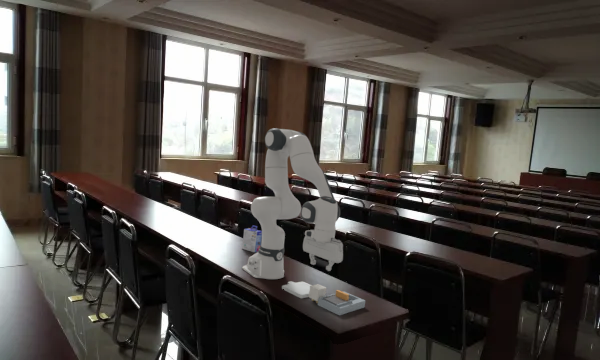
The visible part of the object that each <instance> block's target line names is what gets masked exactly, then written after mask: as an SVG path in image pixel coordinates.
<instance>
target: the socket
mask: <svg viewBox="0 0 600 360" xmlns="http://www.w3.org/2000/svg"><path fill="white" fill-rule="evenodd" d="M342 292H344V293H347V294H349V299H348V300H349V301H347V302H343V303H340V304H337V305H334V304H332V303H330V302H328V301H326V300H324V298H327V297H330V296H334V295H336V293H332V294H329V295H326V296H325V297H321V298H318V303H317V306H318V307H321V308H323V309H325V310H327V311H329V312H332V313H333V314H335V315H338V316H343V315H345V314H347V313H351V312H355V311H357V310H360V309H364V308H365V307H366V305H365V304H366V300H365V299H363V298H360V297H358V296H356V295H354V294H351V293H349V292H347V291H344V290H343V291H342Z"/></svg>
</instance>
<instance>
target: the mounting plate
mask: <svg viewBox="0 0 600 360" xmlns="http://www.w3.org/2000/svg"><path fill="white" fill-rule="evenodd" d="M310 286H312V284H309V283H307V282H305V281H298V282H294V281H292V280H291V281H288V282H287V284H283V285H281V290H283V289H284V290H283V291H285V292H287V293H289V294H291V295H293V296H295V297H297V298H300V299H304V298H310V297H309V291H310Z"/></svg>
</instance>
